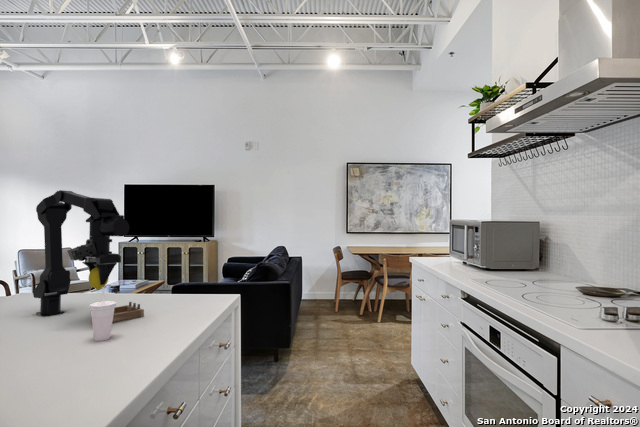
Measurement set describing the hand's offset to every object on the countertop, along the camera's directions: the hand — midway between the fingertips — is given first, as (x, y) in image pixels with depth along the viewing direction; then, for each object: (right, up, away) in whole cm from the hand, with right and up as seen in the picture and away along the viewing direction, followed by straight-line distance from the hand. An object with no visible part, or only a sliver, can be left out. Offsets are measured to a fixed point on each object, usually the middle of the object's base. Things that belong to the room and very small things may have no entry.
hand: (98, 283), depth 115 cm
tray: (+4, -12, +4) cm, 14 cm away
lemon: (0, -2, 0) cm, 2 cm away
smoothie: (+12, -12, -18) cm, 24 cm away
